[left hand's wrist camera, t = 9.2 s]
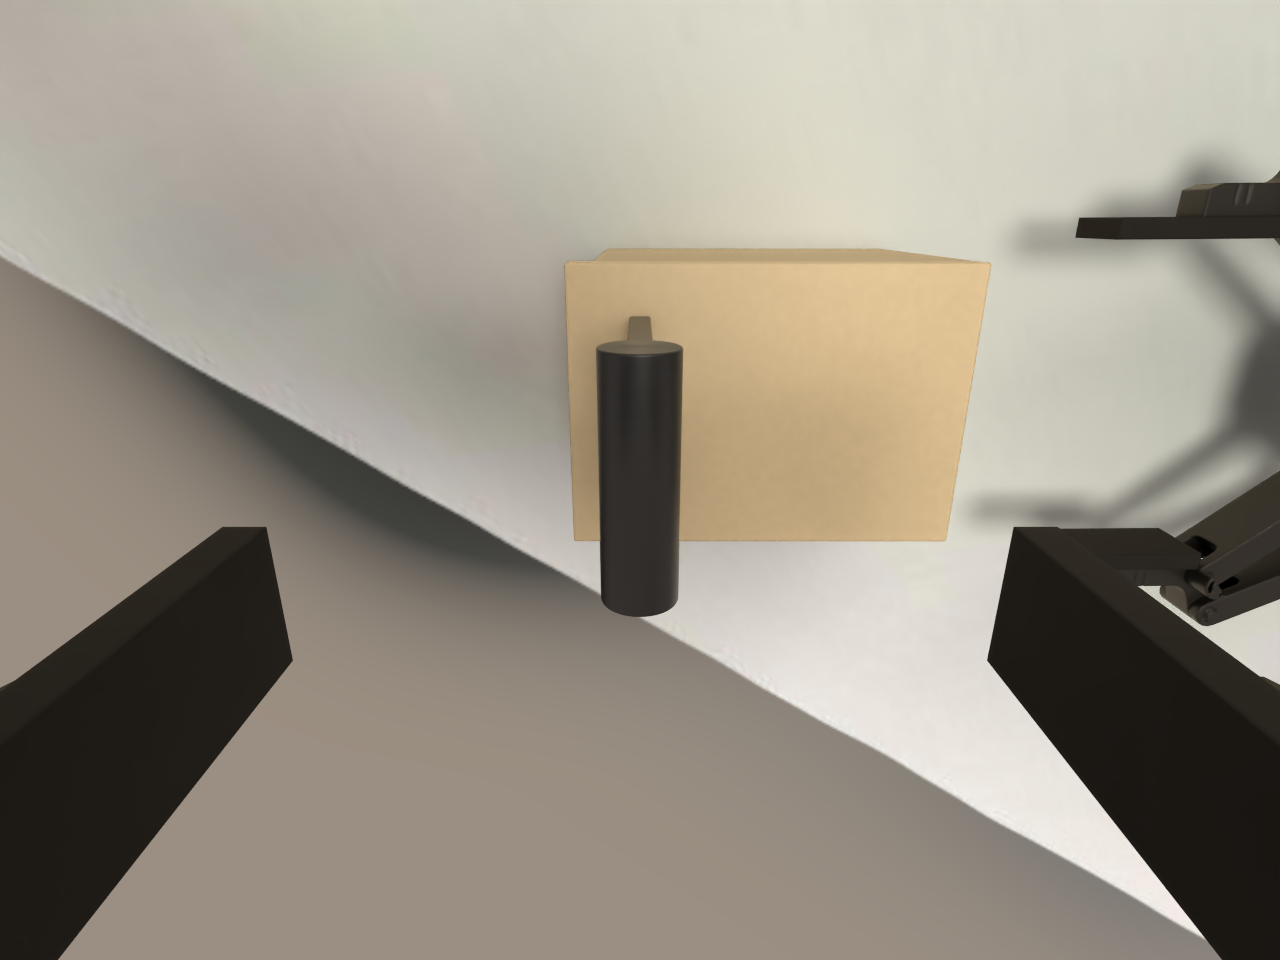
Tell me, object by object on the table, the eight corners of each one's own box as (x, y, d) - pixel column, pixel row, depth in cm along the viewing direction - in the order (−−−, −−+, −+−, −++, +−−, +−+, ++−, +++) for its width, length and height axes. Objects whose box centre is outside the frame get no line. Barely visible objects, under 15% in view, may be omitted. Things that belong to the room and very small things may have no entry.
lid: (576, 528, 28) (547, 668, 19) (567, 260, 24) (526, 284, 16) (933, 528, 28) (1065, 668, 19) (976, 260, 24) (1159, 284, 16)
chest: (609, 448, 37) (598, 528, 28) (606, 249, 34) (592, 261, 24) (858, 448, 37) (933, 528, 28) (881, 248, 34) (975, 260, 24)
